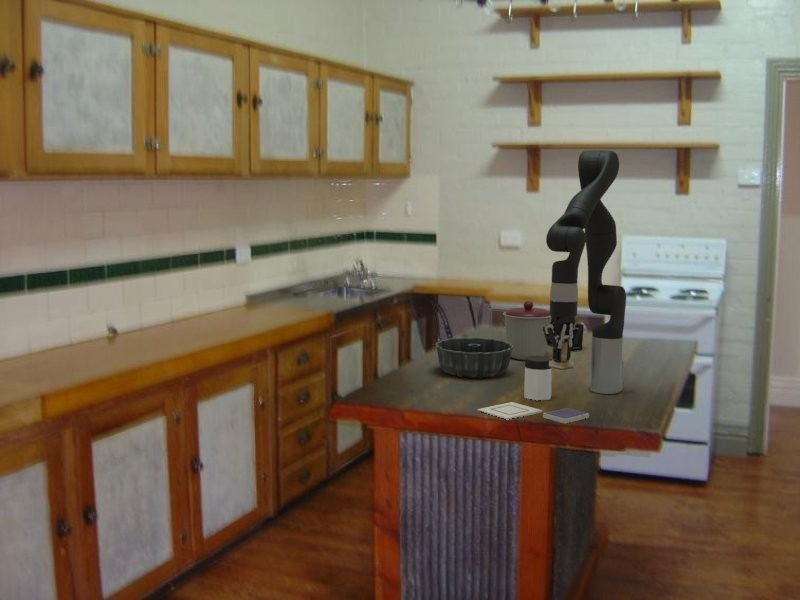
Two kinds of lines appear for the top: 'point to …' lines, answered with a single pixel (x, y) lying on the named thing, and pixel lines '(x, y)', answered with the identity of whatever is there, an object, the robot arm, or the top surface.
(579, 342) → the pen holder
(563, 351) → the stamp
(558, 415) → the ink pad
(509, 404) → the sheet
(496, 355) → the bundt pan
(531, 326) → the canister
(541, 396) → the jar
